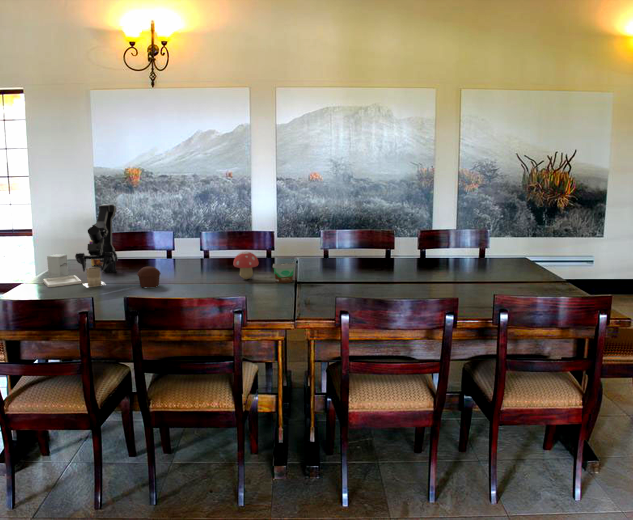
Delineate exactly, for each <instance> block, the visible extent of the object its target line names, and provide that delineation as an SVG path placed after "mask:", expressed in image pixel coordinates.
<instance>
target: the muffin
mask: <svg viewBox="0 0 633 520" xmlns="http://www.w3.org/2000/svg"><path fill="white" fill-rule="evenodd" d="M136 275H137V277H138V280H139V284H140V288H141V287H155V288H157V287H159V286H160V276H161V271H160V270H159V269H158V268H156V267H155V266H144V267H141V268H140V269H139V270H138V271H137V273H136ZM158 285H159V286H158ZM156 286H157V287H156Z"/></svg>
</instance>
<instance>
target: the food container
mask: <svg viewBox="0 0 633 520" xmlns="http://www.w3.org/2000/svg"><path fill="white" fill-rule="evenodd" d="M295 267H296V265H295V262H294V261H292V263H280V264H279V263H273V264H272V269H273V273H274V281H275V283H277V284H289V283H292V282H293V279H294V269H295Z"/></svg>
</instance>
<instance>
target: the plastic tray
mask: <svg viewBox="0 0 633 520" xmlns="http://www.w3.org/2000/svg"><path fill="white" fill-rule="evenodd" d="M42 282H44V283H43V284H44V286H46V287H47V288H56V287H63V286H64V287H65V286H72V285H81V284H83V282H82V280H81V279H80V278H79V277H78V276H77V275H75V274H74V275H68V276H65V277H56V278H49V277H48V278H43V279H42Z"/></svg>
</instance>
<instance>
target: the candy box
mask: <svg viewBox="0 0 633 520" xmlns="http://www.w3.org/2000/svg"><path fill="white" fill-rule="evenodd" d="M88 244H92V240H91V239H90V240H89V243H88ZM90 263H91V264H90V265H91V267H95V266H94V265H98V266H102V264H103V262H100V259H96V260H95V259H90Z"/></svg>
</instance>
